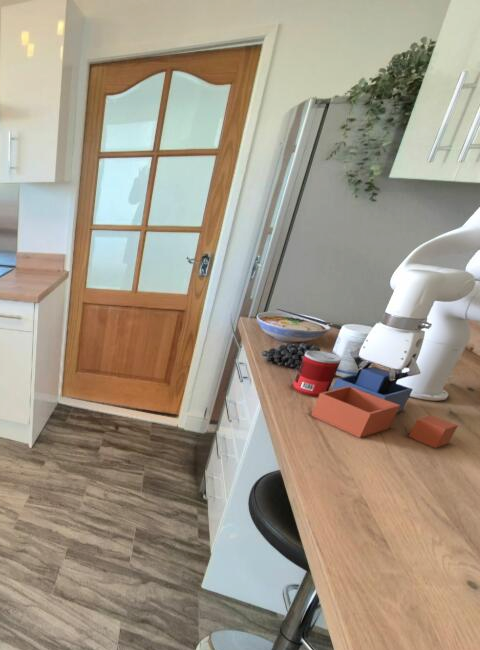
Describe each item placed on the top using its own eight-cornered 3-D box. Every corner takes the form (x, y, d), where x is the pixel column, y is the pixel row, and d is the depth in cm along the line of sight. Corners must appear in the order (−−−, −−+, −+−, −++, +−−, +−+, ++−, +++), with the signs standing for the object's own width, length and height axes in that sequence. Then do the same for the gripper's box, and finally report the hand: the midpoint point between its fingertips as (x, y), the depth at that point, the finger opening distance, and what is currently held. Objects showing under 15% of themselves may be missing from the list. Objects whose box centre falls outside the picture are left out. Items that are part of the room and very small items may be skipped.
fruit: (266, 336, 137) (325, 345, 129) (267, 337, 144) (323, 346, 135) (258, 362, 139) (315, 373, 130) (259, 362, 146) (314, 372, 137)
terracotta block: (420, 432, 103) (430, 414, 101) (447, 443, 99) (458, 425, 96) (408, 436, 101) (417, 418, 99) (435, 448, 97) (445, 429, 95)
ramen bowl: (234, 331, 169) (240, 311, 165) (281, 326, 174) (288, 306, 170) (291, 354, 147) (299, 332, 143) (343, 348, 152) (352, 326, 148)
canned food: (332, 398, 119) (347, 362, 114) (300, 395, 120) (313, 359, 115) (318, 386, 125) (331, 351, 120) (287, 383, 127) (300, 349, 122)
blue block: (366, 383, 116) (373, 366, 113) (388, 391, 111) (396, 373, 109) (354, 386, 114) (361, 369, 112) (376, 394, 110) (384, 376, 108)
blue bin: (354, 392, 122) (363, 372, 119) (401, 411, 112) (412, 389, 109) (327, 399, 118) (336, 378, 115) (374, 419, 109) (385, 396, 106)
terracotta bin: (339, 407, 114) (348, 385, 111) (389, 428, 105) (400, 405, 102) (310, 415, 110) (319, 393, 108) (359, 437, 101) (370, 414, 98)
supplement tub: (372, 378, 130) (393, 332, 123) (347, 381, 128) (367, 335, 121) (340, 365, 138) (358, 322, 132) (317, 368, 136) (334, 324, 130)
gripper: (456, 330, 99) (420, 400, 107) (371, 310, 113) (345, 373, 121) (437, 334, 96) (401, 405, 104) (353, 313, 111) (327, 377, 119)
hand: (371, 387), depth 113 cm, fingers closed on blue block, 5 cm apart
